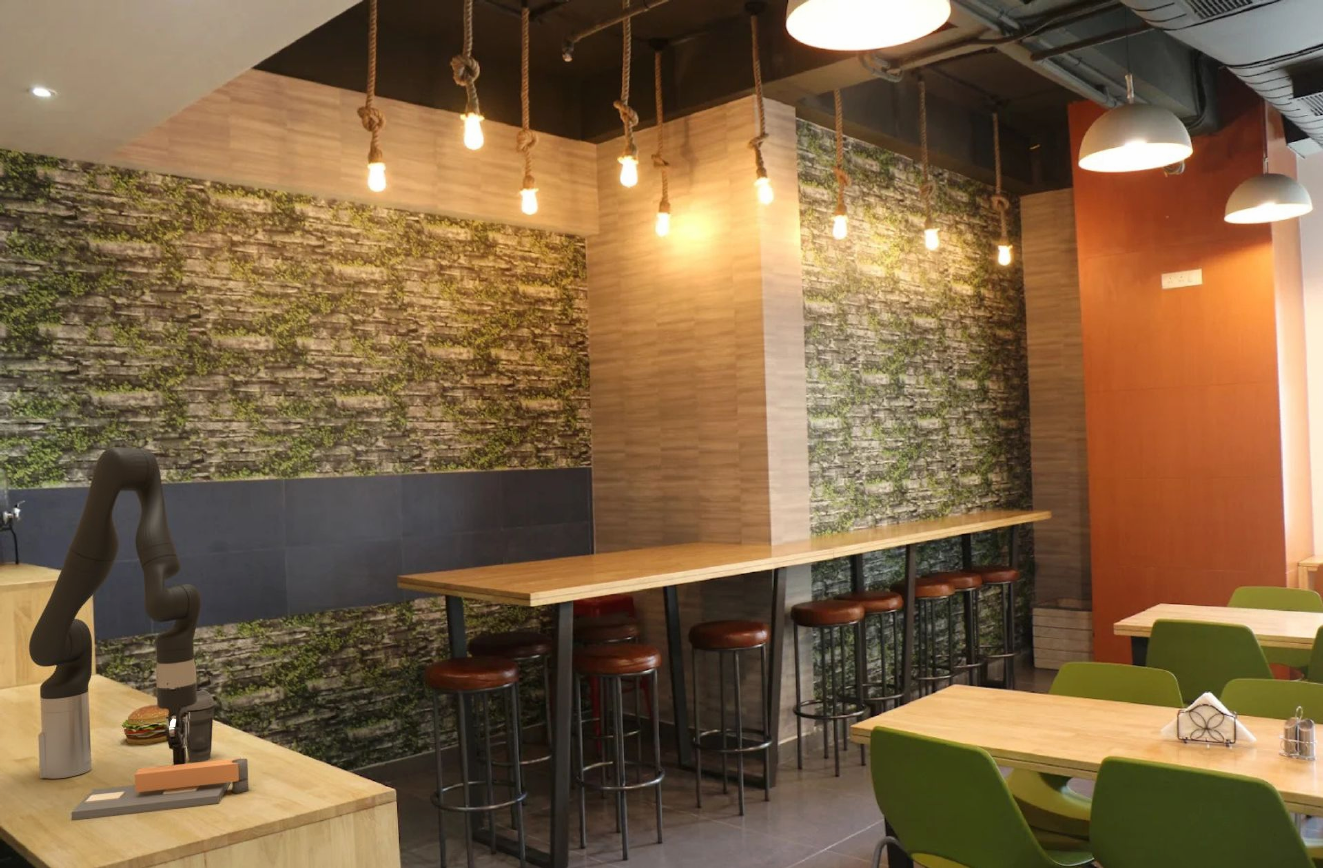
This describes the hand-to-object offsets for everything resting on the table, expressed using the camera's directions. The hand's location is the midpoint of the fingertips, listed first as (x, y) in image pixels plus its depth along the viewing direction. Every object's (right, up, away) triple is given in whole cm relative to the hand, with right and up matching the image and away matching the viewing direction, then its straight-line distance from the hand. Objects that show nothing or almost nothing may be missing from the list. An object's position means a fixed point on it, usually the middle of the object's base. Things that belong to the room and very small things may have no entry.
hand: (180, 766), depth 217 cm
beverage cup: (-4, -5, +19) cm, 20 cm away
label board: (+1, -4, -8) cm, 9 cm away
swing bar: (+6, -1, -7) cm, 9 cm away
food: (-24, -6, +39) cm, 46 cm away
